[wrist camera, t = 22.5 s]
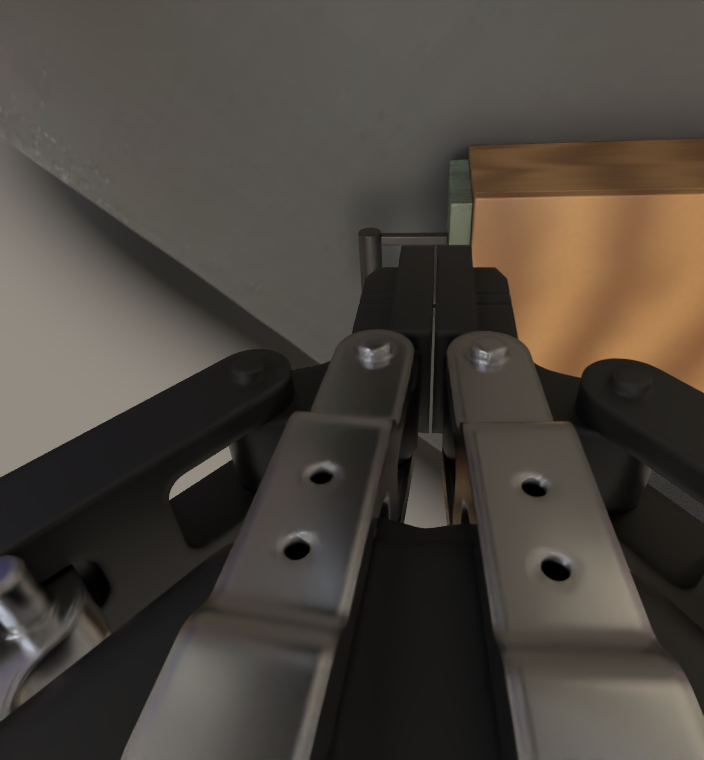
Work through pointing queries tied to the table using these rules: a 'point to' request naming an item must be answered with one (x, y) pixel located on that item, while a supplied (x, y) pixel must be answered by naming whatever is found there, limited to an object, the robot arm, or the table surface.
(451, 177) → the storage drawer
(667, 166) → the wooden drawer cabinet
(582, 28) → the table surface
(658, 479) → the table surface
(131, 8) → the table surface
